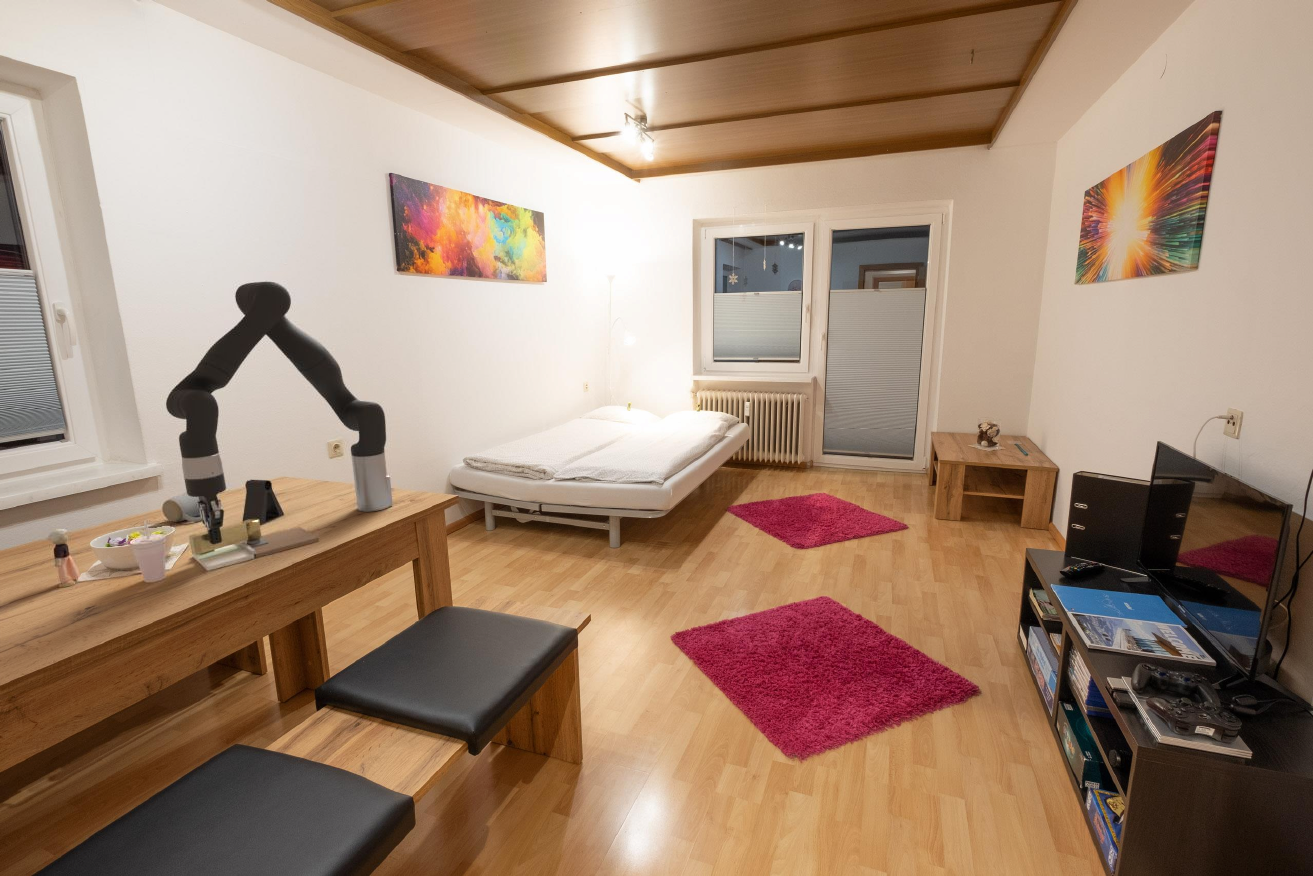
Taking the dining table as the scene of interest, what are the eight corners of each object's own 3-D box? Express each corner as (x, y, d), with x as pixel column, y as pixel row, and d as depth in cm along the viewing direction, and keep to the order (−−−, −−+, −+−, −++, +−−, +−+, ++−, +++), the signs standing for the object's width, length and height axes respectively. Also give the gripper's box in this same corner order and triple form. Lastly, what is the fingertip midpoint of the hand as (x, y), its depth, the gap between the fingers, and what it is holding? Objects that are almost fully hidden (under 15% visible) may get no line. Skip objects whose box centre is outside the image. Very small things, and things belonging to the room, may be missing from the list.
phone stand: (260, 525, 172) (254, 485, 170) (242, 524, 173) (236, 484, 171) (284, 515, 181) (279, 476, 178) (266, 514, 182) (261, 475, 179)
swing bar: (257, 534, 158) (254, 517, 157) (264, 537, 156) (261, 519, 155) (190, 553, 145) (187, 535, 144) (197, 556, 143) (193, 538, 142)
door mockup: (300, 530, 168) (298, 517, 167) (318, 541, 160) (317, 527, 159) (192, 556, 150) (190, 542, 149) (207, 570, 142) (205, 555, 141)
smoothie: (143, 587, 133) (131, 527, 130) (132, 581, 136) (120, 522, 134) (178, 576, 138) (167, 519, 136) (166, 570, 142) (155, 514, 139)
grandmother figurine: (81, 584, 135) (69, 531, 132) (57, 590, 132) (44, 535, 130) (80, 574, 140) (69, 522, 138) (57, 579, 138) (45, 527, 135)
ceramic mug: (161, 522, 175) (157, 497, 174) (189, 513, 183) (185, 489, 181) (191, 525, 173) (186, 500, 171) (217, 516, 181) (213, 492, 179)
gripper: (231, 474, 140) (242, 544, 144) (214, 466, 149) (225, 532, 152) (192, 481, 135) (205, 554, 138) (177, 472, 143) (189, 541, 147)
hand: (215, 542), depth 145 cm, fingers closed
